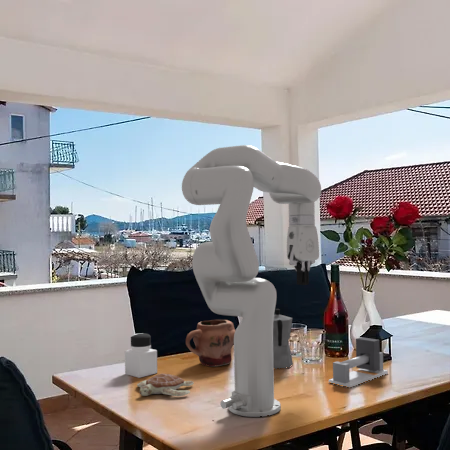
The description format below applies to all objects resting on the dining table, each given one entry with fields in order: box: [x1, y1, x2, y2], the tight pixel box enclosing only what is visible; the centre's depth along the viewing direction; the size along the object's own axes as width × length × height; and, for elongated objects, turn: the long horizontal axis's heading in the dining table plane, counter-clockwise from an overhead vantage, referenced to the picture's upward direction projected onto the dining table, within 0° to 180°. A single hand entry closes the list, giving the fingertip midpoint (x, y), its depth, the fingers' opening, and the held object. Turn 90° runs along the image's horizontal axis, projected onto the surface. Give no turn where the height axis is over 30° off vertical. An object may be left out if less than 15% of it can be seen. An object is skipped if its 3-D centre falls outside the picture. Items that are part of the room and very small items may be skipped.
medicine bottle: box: [124, 332, 158, 379], centre depth 164 cm, size 7×7×12 cm
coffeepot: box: [273, 308, 294, 370], centre depth 170 cm, size 15×9×18 cm, turn 179°
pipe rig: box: [328, 351, 389, 388], centre depth 155 cm, size 20×7×6 cm, turn 134°
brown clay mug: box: [185, 319, 236, 367], centre depth 173 cm, size 20×12×14 cm, turn 134°
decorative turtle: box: [136, 373, 194, 397], centre depth 146 cm, size 18×17×5 cm
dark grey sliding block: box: [355, 336, 381, 371], centre depth 158 cm, size 3×6×9 cm, turn 44°
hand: (302, 284), depth 157 cm, fingers closed
